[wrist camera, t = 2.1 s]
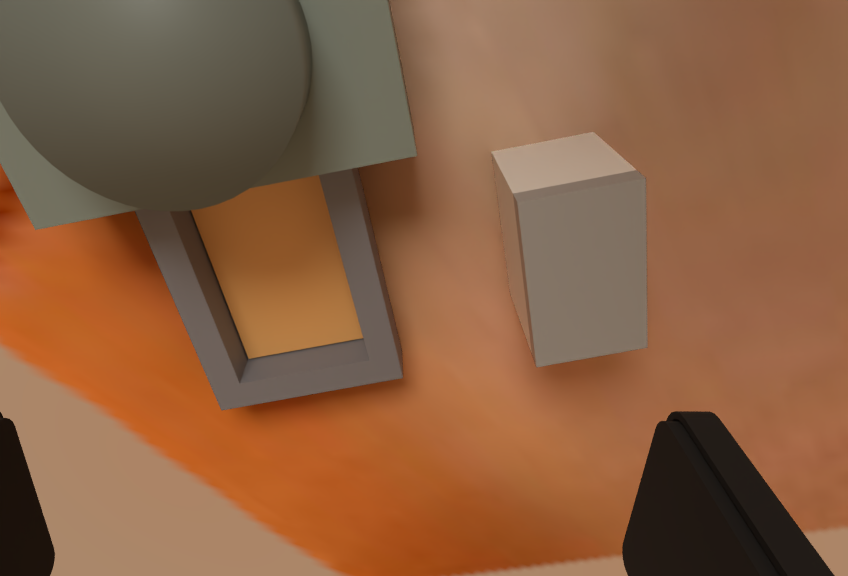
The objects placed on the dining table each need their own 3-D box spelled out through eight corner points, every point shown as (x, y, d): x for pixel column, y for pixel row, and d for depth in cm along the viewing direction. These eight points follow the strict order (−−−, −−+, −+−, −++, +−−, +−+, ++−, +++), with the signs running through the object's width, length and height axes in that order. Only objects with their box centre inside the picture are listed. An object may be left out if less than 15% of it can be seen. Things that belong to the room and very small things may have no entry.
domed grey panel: (359, -155, 24) (348, -198, 17) (453, 342, 35) (470, 439, 28) (-34, -71, 25) (-201, -78, 18) (181, 391, 36) (131, 498, 29)
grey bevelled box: (593, 131, 30) (646, 177, 24) (600, 275, 34) (647, 347, 28) (491, 151, 30) (517, 202, 24) (509, 292, 34) (536, 367, 28)
